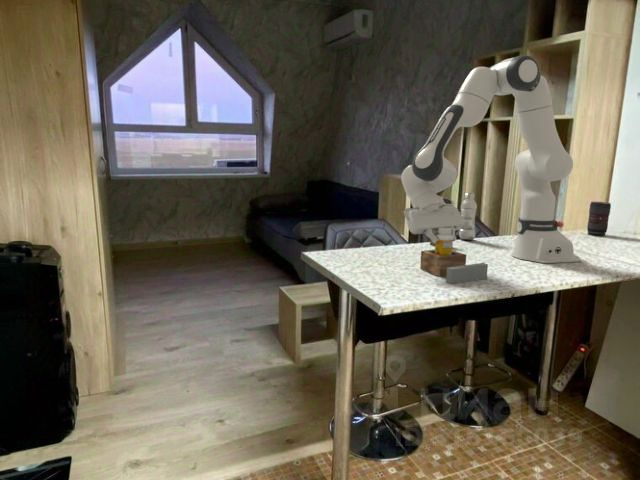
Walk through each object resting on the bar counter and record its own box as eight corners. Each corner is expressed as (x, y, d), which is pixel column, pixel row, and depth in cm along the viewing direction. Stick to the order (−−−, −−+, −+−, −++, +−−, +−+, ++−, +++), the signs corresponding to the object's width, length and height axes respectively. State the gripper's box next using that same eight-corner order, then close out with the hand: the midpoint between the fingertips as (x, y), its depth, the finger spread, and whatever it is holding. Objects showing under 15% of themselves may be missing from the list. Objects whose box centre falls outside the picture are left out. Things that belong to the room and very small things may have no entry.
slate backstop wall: (446, 282, 139) (446, 267, 138) (481, 276, 145) (483, 262, 144) (450, 284, 138) (451, 269, 137) (486, 278, 143) (487, 264, 142)
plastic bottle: (472, 242, 196) (476, 194, 192) (456, 240, 199) (459, 193, 195) (476, 239, 201) (480, 193, 197) (460, 237, 205) (463, 192, 201)
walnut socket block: (420, 268, 154) (421, 251, 153) (444, 265, 158) (445, 248, 157) (439, 276, 145) (441, 257, 144) (465, 273, 149) (466, 254, 148)
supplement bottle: (432, 256, 153) (433, 227, 151) (448, 256, 153) (450, 227, 151) (437, 260, 148) (439, 230, 146) (454, 260, 148) (456, 230, 146)
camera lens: (608, 237, 208) (613, 203, 205) (587, 236, 210) (592, 202, 207) (604, 234, 215) (609, 201, 212) (584, 232, 218) (588, 200, 215)
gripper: (406, 202, 149) (423, 238, 142) (456, 199, 157) (475, 233, 151) (397, 214, 154) (413, 249, 147) (447, 211, 162) (464, 244, 155)
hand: (445, 241), depth 149 cm, fingers closed on supplement bottle, 5 cm apart
